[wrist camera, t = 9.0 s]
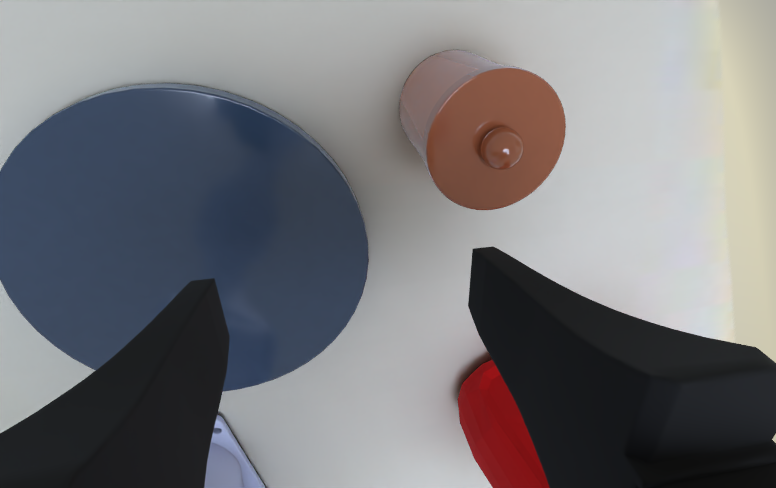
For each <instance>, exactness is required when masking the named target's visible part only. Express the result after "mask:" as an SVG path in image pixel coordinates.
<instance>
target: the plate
mask: <svg viewBox="0 0 776 488" xmlns="http://www.w3.org/2000/svg"><path fill="white" fill-rule="evenodd" d="M368 262H369V257H368V240H367V234H366V229H365V224H364V220H363V216H362V213H361V210H360V207H359V204H358V202H357V199H356V196H355V194H354V192H353V190H352V188H351V186H350V184H349V182H348V181H347V179H346V177H345V176H344V174H343V173H342V171H341V170H340V168H339V167H338V166H337V164H336V163H335V161H334V160H333V159H332V158H331V157H330V156H329V154H328V153H327V152H326V151H325V150H324V149H323V148H322V147H321V146H320V145H319V144H318V143H317V142H316V141H315V140H314V139H313V138H311V137H310V136H309V135H308V134H307V133H306V132H304V131H303V130H302V129H301V128H300V127H298V126H297V125H295V124H294V123H292V122H291V121H289V120H287V119H286V118H284V117H283V116H281V115H280V114H278V113H277V112H275V111H273V110H271V109H268V108H266V107H264V106H262V105H260V104H258V103H256V102H254V101H252V100H249V99H246V98H243V97H240V96H237V95H234V94H232V93H229V92H226V91H221V90H217V89H212V88H207V87H202V86H198V85H187V84H175V83H156V84H138V85H132V86H127V87H121V88H115V89H111V90H108V91H105V92H102V93H99V94H96V95H93V96H90V97H87V98H85V99H83V100H81V101H79V102H77V103H75V104H73V105H71V106H69V107H67V108H65V109H63V110H61V111H59V112H57V113H55V114H54V115H52V116H51V117H49V118H48V119H47V120H45V121H44V122H43V123H41V124H40V125H38V126H37V127H36V128H34V129H33V130H32V131H31V132H30V133H29V134H28V135H27V136H26V137H25V138H24V139H23V140H22V141H21V142H20V143H19V144H18V145H17V146H16V147H15V148H14V150H13V151H12V153H11V154H10V156H9V157H8V159H7V161H6V162H5V164H4V165H3V167H2V168H1V170H0V280H1V282H2V284H3V286H4V288H5V290H6V292H7V294H8V296H9V297H10V299H11V300H12V301H13V303H14V304H15V306H16V307H17V308H18V310H19V311H20V313H21V314H22V315H23V316H24V317H25V318H26V320H27V321H28V322H29V323H30V324H31V325H32V326H33V327H34V328H35V329H36V330H37V331H38V332H39V333H40V334H41V335H42V336H44V337H45V338H46V339H47V340H48V341H50V342H51V343H52V344H53V345H54V346H56V347H57V348H59V349H60V350H61V351H63V352H64V353H66V354H67V355H69V356H70V357H72V358H73V359H75V360H77V361H79V362H81V363H83V364H84V365H86V366H88V367H90V368H92V369H94V370H97V369H98V368H100V367H101V366H102V365H104V364H105V363H106V362H107V361H108V360H110V359H111V358H112V357H113V356H114V355H116V354H117V353H118V352H119V351H120V350H121V349H122V348H123V347H124V346H126V345H127V344H128V343H129V342H130V341H131V340H132V339H133V338H134V337H135V336H136V335H138V334H139V333H140V332H141V331H142V330H143V329H144V328H145V327H146V326H147V325H148V324H149V323H150V322H151V321H152V320H153V319H154V318H155V317H156V316H157V315H158V314H159V313H160V312H161V311H162V310H163V309H164V308H165V307H166V306H167V305H168V304H169V303H170V302H171V301H172V300H173V299H174V298H175V296H176V295H177V294H178V293H179V292H180V291H181V290H182V289H183V288H184V287H185V286H186V285H187V284H188V283H189V282H190V281H194V280H203V279H212V278H215V282H216V286H217V290H218V294H219V297H220V301H221V305H222V309H223V313H224V317H225V321H226V324H227V328H228V332H229V336H230V340H229V355H228V365H227V373H226V377H225V382H224V386H223V391H230V390H237V389H242V388H246V387H250V386H255V385H258V384H261V383H265V382H268V381H271V380H274V379H276V378H278V377H281V376H283V375H285V374H287V373H290V372H292V371H294V370H295V369H297V368H299V367H300V366H302V365H304V364H306V363H307V362H309V361H310V360H311V359H313V358H314V357H315V356H317V355H318V354H320V353H321V352H322V351H323V350H324V349H325V348H326V347H327V346H329V345H330V344H331V343H332V342H333V341H334V340H335V339H336V337H337V336H338V335H339V334H340V333H341V331H342V330H343V329H344V328H345V327H346V325H347V323H348V322H349V320H350V318H351V317H352V315H353V314H354V312H355V310H356V308H357V305H358V303H359V301H360V299H361V296H362V293H363V290H364V286H365V282H366V279H367V270H368Z"/></svg>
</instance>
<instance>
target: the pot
mask: <svg viewBox="0 0 776 488" xmlns="http://www.w3.org/2000/svg"><path fill="white" fill-rule="evenodd" d="M399 114H400V120H401V124H402V127H403V130H404V132H405V134H406V135H407V137H408V138H409V140H410V141H411V143H412V144H413V146H414V147H415V149H416V150H417V151H418V153H419V154H420V156H421V157H422V159H423V160H424V161H425V166H426V168H427V171H428V173H429V175H430V177H431V179H432V180H433V182H434V183H435V185H436V186H437V188H438V189H439V190H440V191H441V193H443V194H444V195H445V196H446V197H447V198H448V199H450V200H451V201H453V202H454V203H456V204H458V205H460V206H463V207H466V208H470V209H476V210H492V209H498V208H502V207H506V206H509V205H511V204H513V203H516V202H518V201H520V200H521V199H523V198H525V197H526V196H528V195H529V194H530V193H532V192H533V191H534V190H535V189H537V188H538V187H539V186H540V185H541V184H542V183H543V181H544V180H545V179H546V178H547V177H548V175H549V174H550V173H551V171H552V170H553V168H554V166H555V164H556V163H557V161H558V158H559V156H560V154H561V151H562V147H563V144H564V138H565V128H566V126H565V115H564V111H563V107H562V104H561V101H560V99H559V97H558V96H557V94H556V92H555V91H554V90H553V88H552V87H551V86H550V85H549V84H548V83H547V82H546V81H545V80H544V79H542V78H541V77H539V76H538V75H536V74H534V73H532V72H529V71H527V70H524V69H522V68H518V67H515V66H507V65H499V64H497V63H495V62H492V61H490V60H488V59H485V58H483V57H481V56H478V55H476V54H473V53H471V52H468V51H463V50H448V51H443V52H440V53H437V54H434V55H432V56H430V57H429V58H427V59H426V60H424V61H423V62H422V63H420V64H419V65H418V66H417V67H416V68H415V69H414V71H413V72H412V73H411V75H410V76H409V77H408V79H407V81H406V83H405V85H404V87H403V90H402V93H401V97H400V104H399Z"/></svg>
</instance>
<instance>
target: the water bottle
mask: <svg viewBox="0 0 776 488" xmlns="http://www.w3.org/2000/svg"><path fill="white" fill-rule="evenodd" d="M458 407H459V417H460V424H461V426H462V429H463V431H464V434H465V436H466V439H467V441H468V444H469V446H470V449H471V451H472V454H473V456H474V459H475V460H476V462H477V463H478V465H479V467H480V468H481V470H482V471H483V473H484V474H485V476H486V478H487V479H488V481H489V482H490V484H491V485H492V487H493V488H550V487H549V484H548V481H547V478H546V476H545V473H544V470H543V468H542V465H541V463H540V460H539V457H538V455H537V452H536V450H535V447H534V445H533V442H532V440H531V437H530V435H529V432H528V430H527V427H526V425H525V423H524V420H523V418H522V415H521V413H520V411H519V408H518V406H517V404H516V402H515V400H514V398H513V396H512V394H511V393H510V391H509V389H508V387H507V385H506V383H505V382H504V380H503V378H502V376H501V374H500V373H499V371H498V369H497V367H496V365H495V363H494V362H493V360H490V361H488V362H486V363H483V364H482V365H481V366H479V367H478V368H477V369H476V370H475V371H474V372H473V373H472V374H471V375H470V376H469V377H468V378H467V379H466V380H465V381H464V382H463V383H462V386H461V390H460V393H459V397H458Z"/></svg>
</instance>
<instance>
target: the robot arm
mask: <svg viewBox="0 0 776 488" xmlns="http://www.w3.org/2000/svg"><path fill="white" fill-rule="evenodd" d="M468 306H469V309H470V312H471V315H472V318H473V320H474V323H475V326H476V328H477V331H478V333H479V336H480V337H481V339H482V341H483V343H484V345H485V347H486V349H487V351H488V352H489V354H490V356H491V358H492V360H493V362H494V363H495V365H496V367H497V369H498V371H499V373H500V374H501V376H502V378H503V380H504V382H505V383H506V385H507V387H508V389H509V391H510V393H511V394H512V396H513V398H514V400H515V402H516V404H517V406H518V408H519V411H520V413H521V415H522V418H523V420H524V423H525V425H526V427H527V430H528V432H529V435H530V437H531V440H532V442H533V445H534V447H535V450H536V452H537V455H538V457H539V460H540V463H541V465H542V468H543V470H544V473H545V476H546V478H547V481H548V484H549V487H550V488H776V443H775V442H774V441H773V440H772V438H773V437H774V435H775V434H776V363H775V362H774V361H772V360H771V359H770V358H769V357H768V356H766V355H765V354H764V353H763V352H761V351H760V350H759V349H757V348H756V347H751V346H746V345H741V344H736V343H731V342H726V341H721V340H716V339H711V338H706V337H702V336H698V335H694V334H690V333H686V332H682V331H678V330H674V329H671V328H667V327H664V326H660V325H657V324H654V323H651V322H648V321H645V320H642V319H639V318H636V317H633V316H630V315H627V314H624V313H621V312H619V311H616V310H614V309H611V308H609V307H606V306H604V305H602V304H599V303H597V302H594V301H592V300H590V299H588V298H585V297H583V296H581V295H579V294H577V293H575V292H573V291H571V290H569V289H567V288H565V287H563V286H561V285H559V284H558V283H556V282H554V281H552V280H550V279H548V278H547V277H545V276H543V275H541V274H540V273H538V272H536V271H534V270H533V269H531V268H529V267H528V266H526V265H524V264H523V263H521V262H519V261H518V260H516V259H514V258H513V257H511V256H509V255H508V254H506V253H504V252H502V251H501V250H499V249H497V248H495V247H486V248H477V249H473V253H472V265H471V278H470V291H469V303H468ZM229 340H230V336H229V332H228V328H227V324H226V321H225V317H224V313H223V309H222V305H221V301H220V297H219V294H218V290H217V286H216V282H215V278H212V279H203V280H194V281H190V282H189V283H188V284H187V285H186V286H185V287H184V288H183V289H182V290H181V291H180V292H179V293H178V294H177V295H176V296H175V298H174V299H173V300H172V301H171V302H170V303H169V304H168V305H167V306H166V307H165V308H164V309H163V310H162V311H161V312H160V313H159V314H158V315H157V316H156V317H155V318H154V319H153V320H152V321H151V322H150V323H149V324H148V325H147V326H146V327H145V328H144V329H143V330H142V331H141V332H140V333H139V334H138V335H136V336H135V337H134V338H133V339H132V340H131V341H130V342H129V343H128V344H127V345H126V346H124V347H123V348H122V349H121V350H120V351H119V352H118V353H117V354H116V355H114V356H113V357H112V358H111V359H110V360H108V361H107V362H106V363H105V364H104V365H102V366H101V367H100V368H98V369H97V370H96V371H95V372H93V373H92V374H91V375H89V376H88V377H87V378H85V379H84V380H83V381H81V382H80V383H79V384H77V385H76V386H75V387H73V388H72V389H70V390H69V391H67V392H66V393H64V394H63V395H61V396H60V397H58V398H57V399H55V400H54V401H52V402H51V403H49V404H48V405H46V406H45V407H43V408H42V409H40V410H39V411H37V412H36V413H34V414H32V415H31V416H29V417H28V418H26V419H24V420H23V421H21V422H19V423H18V424H16V425H14V426H13V427H11V428H9V429H7V430H6V431H4V432H2V433H0V488H266V487H265V486H264V484H263V483H262V481H261V479H260V478H259V476H258V474H257V473H256V471H255V470H254V468H253V466H252V465H251V463H250V461H249V460H248V458H247V457H246V455H245V453H244V452H243V450H242V449H241V447H240V445H239V444H238V442H237V440H236V439H235V437H234V436H233V434H232V432H231V431H230V429H229V427H228V426H227V424H226V423H225V421H224V419H223V418H222V417H221V416H219V415H217V413H218V409H219V404H220V400H221V396H222V391H223V386H224V382H225V377H226V373H227V365H228V355H229Z"/></svg>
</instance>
